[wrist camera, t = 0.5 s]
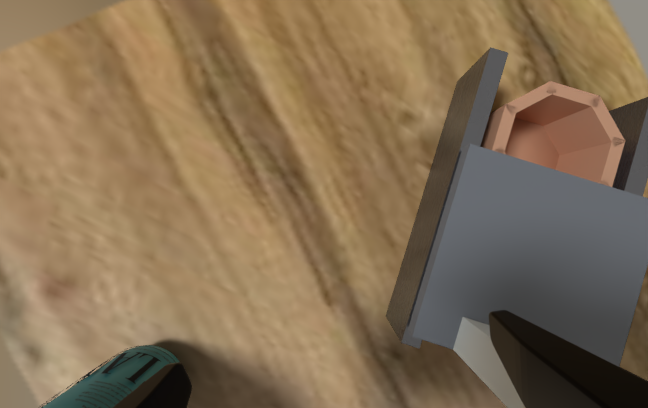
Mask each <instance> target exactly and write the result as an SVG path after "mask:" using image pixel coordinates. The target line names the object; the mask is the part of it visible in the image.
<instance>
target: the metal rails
mask: <svg viewBox="0 0 648 408" xmlns="http://www.w3.org/2000/svg"><path fill="white" fill-rule="evenodd" d="M507 55H508V53H507V52H504V51H501V50H497V49H494V48H490V49H489V50H488V51H487V52H486V53H485V54H484V55H483V56H482V57H481V58H480V59H479V60H478V61H477V62H476V63H475V64H474V65H473V66H472V67H471V68H470V69H469V70H468V71H467V72H466V73H465V74H464V75H463V76H462V77H461V78H460V79H459V80H458V81H457V85H456V88H455V91H454V94H453V98H452V101H451V104H450V108H449V111H448V114H447V117H446V121H445V124H444V127H443V131H442V134H441V137H440V140H439V144H438V147H437V150H436V154H435V157H434V160H433V163H432V167H431V170H430V173H429V177H428V180H427V183H426V186H425V190H424V193H423V196H422V199H421V203H420V206H419V209H418V213H417V216H416V219H415V222H414V226H413V229H412V232H411V236H410V239H409V242H408V245H407V249H406V252H405V255H404V259H403V262H402V265H401V268H400V272H399V275H398V278H397V282H396V285H395V288H394V291H393V295H392V298H391V301H390V304H389V308H388V311H387V314H386V317H387V319H388V321H389V322H390V324H391V326H392V328H393V329H394V331H395V333H396V334H397V336H398V338H399V340H400V341H401V343H404V344H407V345H410V346H413V347H416V348H419V349H420V345H421V342H422V339H419V338H416V337H412V335H411V334H410V333H409V331H408V327H409V324H410V321H411V317H412V314H413V311H414V307H415V304H416V301H417V297H418V294H419V291H420V287H421V284H422V281H423V277H424V274H425V271H426V268H427V264H428V261H429V258H430V254H431V251H432V248H433V244H434V241H435V238H436V234H437V231H438V228H439V225H440V221H441V218H442V215H443V211H444V208H445V205H446V201H447V198H448V195H449V191H450V188H451V185H452V181H453V178H454V175H455V172H456V168H457V165H458V162H459V158H460V155H461V152H462V148H463V147H465V146H467V145H469V144H473V145H476V146H480V145H481V142H482V139H483V135H484V132H485V129H486V125H487V122H488V119H489V115H490V112H491V109H492V105H493V102H494V99H495V95H496V92H497V89H498V85H499V82H500V79H501V75H502V72H503V69H504V65H505V62H506V59H507ZM609 113H610V115H611V117H612V118H613V120H614V122H615V124H616V125H617V127H618V129H619V131H620V133H621V134H622V136H623V138H624V140H625V141H626V142H625V144H624V147H623V151H622V154H621V158H620V161H619V165H618V168H617V172H616V175H615V179H614V182H613V186H612V187H613V188H616V189H619V190H623V191H626V192H629V193H632V194H636V195H639V196H643V193H644V189H645V186H646V182H647V178H648V97H647V98H644V99H641V100H638V101H636V102H633V103H630V104H627V105H625V106H622V107H619V108H616V109H614V110H611V111H609Z"/></svg>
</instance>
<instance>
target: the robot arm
mask: <svg viewBox="0 0 648 408" xmlns="http://www.w3.org/2000/svg"><path fill="white" fill-rule="evenodd" d="M489 327H490V337H491V341H492V344H493V346H494V348H495V350H496V352H497V354H498V356H499V358H500V360H501V362H502V364H503V366H504V368H505V370H506V372H507V374H508V376H509V378H510V380H511V382H512V384H513V386H514V387H515V389H516V391H517V393H518V395H519V397H520V399H521V401H522V403H523V404H524V406H525V408H648V381H647V380H645V379H643V378H641V377H639V376H637V375H635V374H633V373H631V372H629V371H627V370H625V369H623V368H621V367H619V366H617V365H615V364H613V363H611V362H609V361H607V360H605V359H603V358H601V357H599V356H597V355H595V354H593V353H591V352H589V351H587V350H585V349H583V348H581V347H579V346H577V345H575V344H573V343H571V342H569V341H567V340H565V339H563V338H561V337H559V336H557V335H555V334H553V333H551V332H549V331H547V330H545V329H543V328H541V327H539V326H537V325H535V324H533V323H531V322H529V321H527V320H525V319H523V318H521V317H519V316H517V315H515V314H513V313H511V312H509V311H507V310H497V311H491V312H490V313H489ZM191 389H192V385H191V381H190V379H189V377H188V374H187V372H186V370H185V368H184V365H183V364H182V363H180V362H177V363H171V364H167V365H165V366H164V367H163V368H161V369H160V370H159V371H158V372H156V373H155V374H154V375H153V376H151V377H150V378H149V379H148V380H146V381H145V382H144V383H143V384H141V385H140V386H139V387H138V388H136V389H135V390H134V391H133V392H131V393H130V394H129V395H128V396H126V397H125V398H124V399H123V400H121V401H120V402H119V403H117V404H116V405H115V406H114V407H112V408H187V405H188V401H189V398H190V394H191Z"/></svg>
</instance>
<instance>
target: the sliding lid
mask: <svg viewBox="0 0 648 408" xmlns="http://www.w3.org/2000/svg"><path fill="white" fill-rule="evenodd" d="M647 265H648V198H645V197H642V196H639V195H636V194H632V193H629V192H626V191H623V190H619V189H616V188H613V187H610V186H606V185H603V184H600V183H597V182H593V181H590V180H587V179H584V178H580V177H577V176H574V175H571V174H567V173H564V172H561V171H558V170H554V169H551V168H548V167H545V166H541V165H538V164H535V163H532V162H528V161H525V160H522V159H519V158H515V157H512V156H509V155H506V154H502V153H499V152H496V151H493V150H489V149H486V148H483V147H480V146H476V145H473V144H469V145H467V146H465V147H463V148H462V152H461V155H460V158H459V162H458V165H457V168H456V172H455V175H454V178H453V181H452V185H451V188H450V191H449V195H448V198H447V201H446V205H445V208H444V211H443V215H442V218H441V221H440V225H439V228H438V231H437V234H436V238H435V241H434V244H433V248H432V251H431V254H430V258H429V261H428V264H427V268H426V271H425V274H424V277H423V281H422V284H421V287H420V291H419V294H418V297H417V301H416V304H415V307H414V311H413V314H412V317H411V321H410V324H409V327H408V331H409V333H410V334H411V335H412V337H416V338H419V339H422V340H425V341H428V342H431V343H434V344H437V345H440V346H444V347H447V348H450V349H453V350H454V351H455V352H456V353H457V354H458V355H459V356H460V358H461V359H462V360H463V361H464V362H465V363H466V364H467V365H468V366H469V367H470V368H471V369H472V370H473V371H474V373H475V374H476V375H477V376H478V377H479V378H480V379H481V380H482V381H483V382H484V383H485V384H486V385H487V386H488V387H489V389H490V390H491V391H492V392H493V393H494V394H495V395H496V396H497V397H498V398H499V399H500V400H501V401H502V402H503V403H504V405H505V406H506V407H507V408H525V406H524V404H523V403H522V401H521V399H520V397H519V395H518V393H517V391H516V389H515V387H514V386H513V384H512V382H511V380H510V378H509V376H508V374H507V372H506V370H505V368H504V366H503V364H502V362H501V360H500V358H499V356H498V354H497V352H496V350H495V348H494V346H493V344H492V341H491V337H490V327H489V313H490V312H491V311H497V310H507V311H509V312H511V313H513V314H515V315H517V316H519V317H521V318H523V319H525V320H527V321H529V322H531V323H533V324H535V325H537V326H539V327H541V328H543V329H545V330H547V331H549V332H551V333H553V334H555V335H557V336H559V337H561V338H563V339H565V340H567V341H569V342H571V343H573V344H575V345H577V346H579V347H581V348H583V349H585V350H587V351H589V352H591V353H593V354H595V355H597V356H599V357H601V358H603V359H605V360H607V361H609V362H611V363H613V364H615V365H617V366H620V362H621V358H622V355H623V351H624V348H625V344H626V340H627V337H628V333H629V330H630V326H631V323H632V319H633V315H634V312H635V308H636V305H637V301H638V297H639V294H640V290H641V287H642V283H643V279H644V276H645V272H646V269H647Z"/></svg>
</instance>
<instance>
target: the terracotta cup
mask: <svg viewBox="0 0 648 408" xmlns="http://www.w3.org/2000/svg"><path fill="white" fill-rule="evenodd" d="M625 142H626V141H625V140H624V138H623V136H622V134H621V133H620V131H619V129H618V127H617V125H616V124H615V122H614V120H613V118H612V117H611V115H610V113H609V111H608V110H607V108H606V106H605V104H604V102H603V101H602V99H601V96H598V95H595V94H591V93H588V92H585V91H581V90H578V89H575V88H571V87H568V86H565V85H561V84H558V83H555V82H551V81H549V82H547V83H546V84H544V85H542V86H540V87H538V88H537V89H535V90H533V91H531V92H529V93H527V94H525V95H523V96H521V97H519V98H517V99H515V100H514V101H512V102H510V103H508V104H505V105H503V106H502V107H500V108H499V109H497V110H495V111H494V112H492V113H490V115H489V119H488V122H487V125H486V129H485V132H484V135H483V139H482V142H481V145H480V147H483V148H486V149H489V150H493V151H496V152H499V153H502V154H506V155H509V156H512V157H515V158H519V159H522V160H525V161H528V162H532V163H535V164H538V165H541V166H545V167H548V168H551V169H554V170H558V171H561V172H564V173H567V174H571V175H574V176H577V177H580V178H584V179H587V180H590V181H593V182H597V183H600V184H603V185H606V186H610V187H612V186H613V182H614V179H615V175H616V172H617V168H618V165H619V161H620V158H621V154H622V151H623V147H624V144H625Z"/></svg>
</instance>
